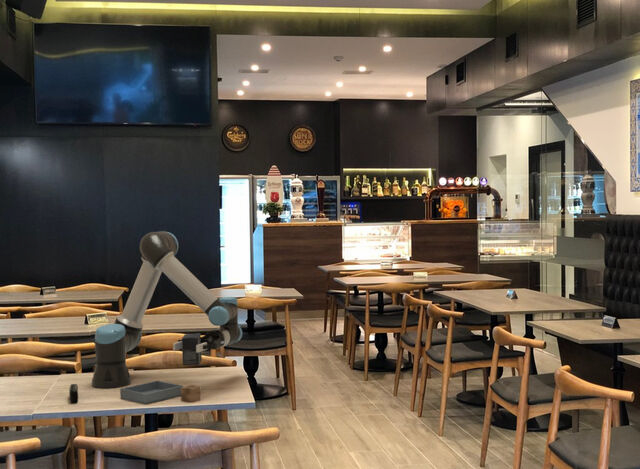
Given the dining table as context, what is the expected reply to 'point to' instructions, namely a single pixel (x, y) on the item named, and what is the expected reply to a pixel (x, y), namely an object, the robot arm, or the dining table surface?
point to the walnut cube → (190, 393)
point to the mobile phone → (73, 393)
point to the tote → (151, 392)
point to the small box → (191, 349)
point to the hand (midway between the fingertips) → (185, 348)
